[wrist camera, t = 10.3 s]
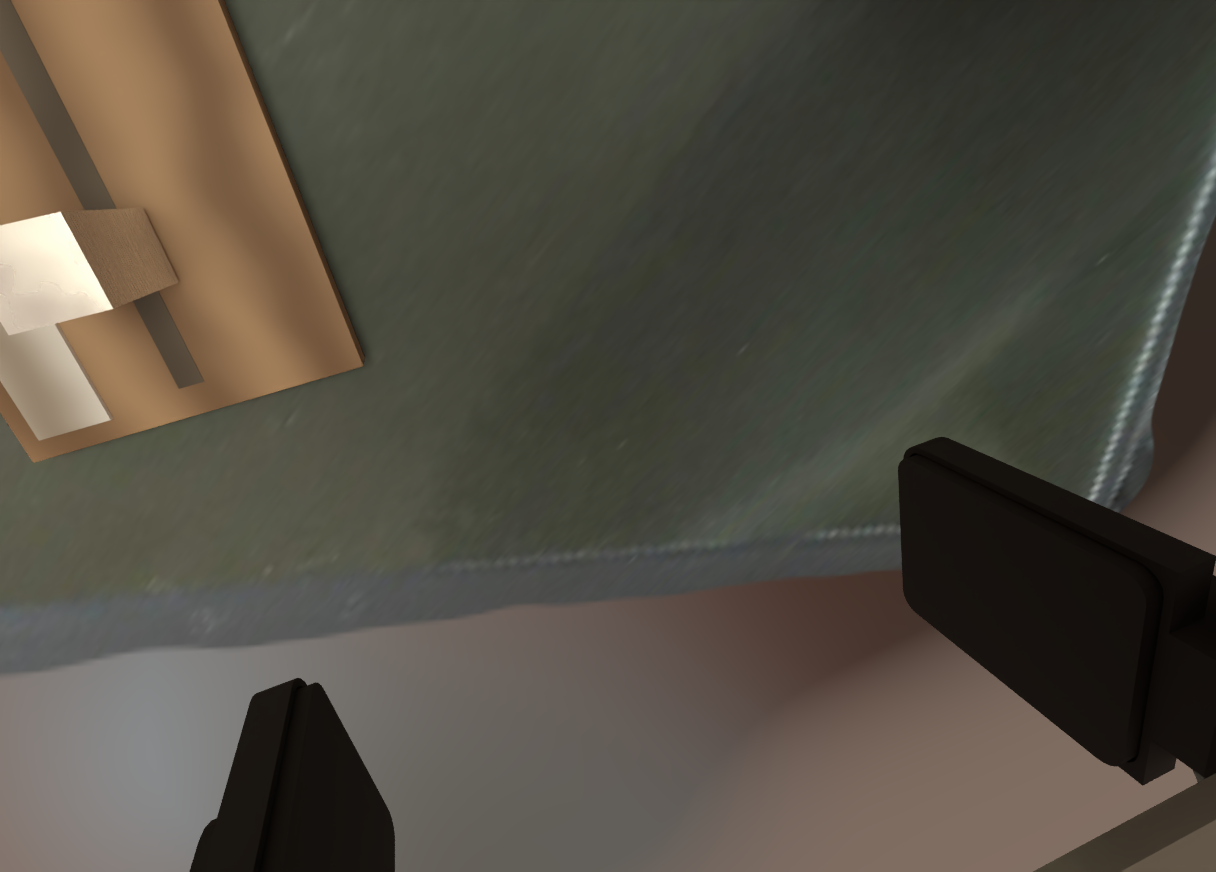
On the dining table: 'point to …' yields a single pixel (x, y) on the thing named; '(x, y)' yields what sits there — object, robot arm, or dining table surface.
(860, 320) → the dining table surface
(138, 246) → the sliding block with pointer
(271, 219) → the rule board
